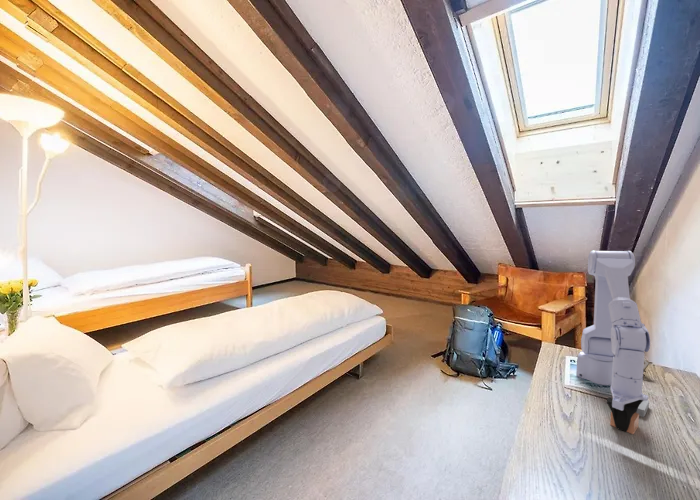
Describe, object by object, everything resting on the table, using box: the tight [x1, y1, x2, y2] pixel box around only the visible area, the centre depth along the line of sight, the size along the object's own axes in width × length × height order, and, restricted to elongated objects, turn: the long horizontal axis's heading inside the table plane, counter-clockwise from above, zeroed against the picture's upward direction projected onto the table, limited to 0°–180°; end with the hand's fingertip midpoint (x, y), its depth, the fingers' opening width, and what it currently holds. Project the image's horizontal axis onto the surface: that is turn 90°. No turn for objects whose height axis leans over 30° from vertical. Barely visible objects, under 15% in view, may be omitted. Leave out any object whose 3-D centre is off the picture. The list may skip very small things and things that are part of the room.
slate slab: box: [636, 399, 650, 418], centre depth 87 cm, size 6×6×2 cm
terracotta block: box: [609, 412, 640, 435], centre depth 80 cm, size 4×4×4 cm
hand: (624, 424), depth 80 cm, fingers closed on terracotta block, 4 cm apart
